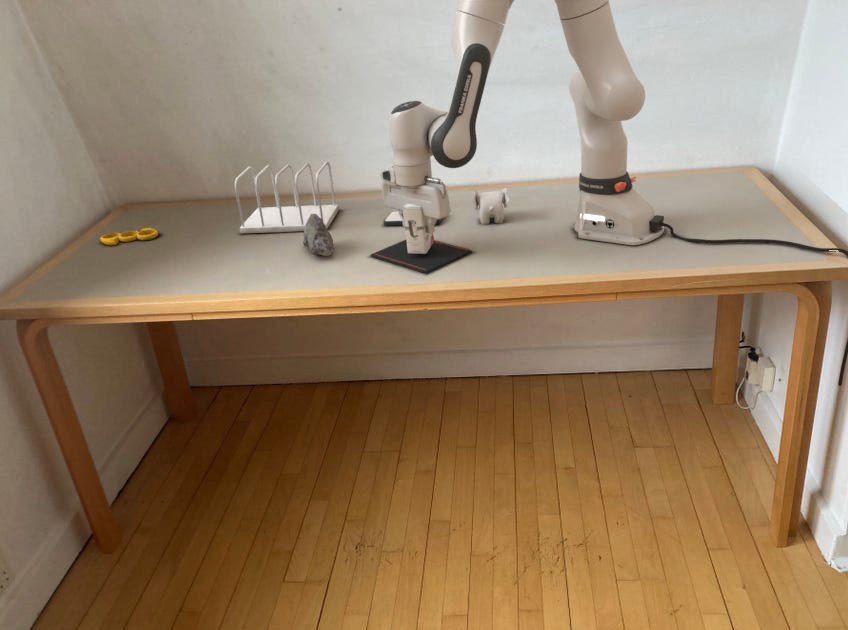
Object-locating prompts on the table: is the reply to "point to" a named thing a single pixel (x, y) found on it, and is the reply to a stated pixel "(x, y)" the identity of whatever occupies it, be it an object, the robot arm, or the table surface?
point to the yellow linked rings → (129, 236)
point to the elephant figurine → (491, 205)
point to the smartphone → (397, 220)
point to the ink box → (416, 230)
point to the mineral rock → (317, 236)
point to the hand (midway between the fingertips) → (418, 229)
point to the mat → (422, 256)
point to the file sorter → (286, 207)
